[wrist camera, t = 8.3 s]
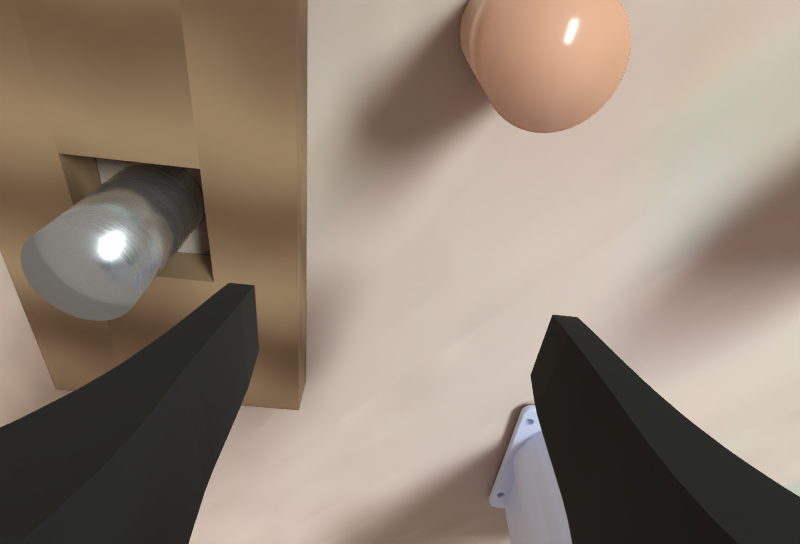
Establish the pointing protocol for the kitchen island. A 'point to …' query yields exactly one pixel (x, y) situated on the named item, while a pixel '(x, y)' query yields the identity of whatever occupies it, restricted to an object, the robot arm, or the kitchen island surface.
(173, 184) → the steel pin
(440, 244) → the kitchen island surface
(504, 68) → the terracotta pin
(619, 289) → the kitchen island surface
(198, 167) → the wooden board with hole
